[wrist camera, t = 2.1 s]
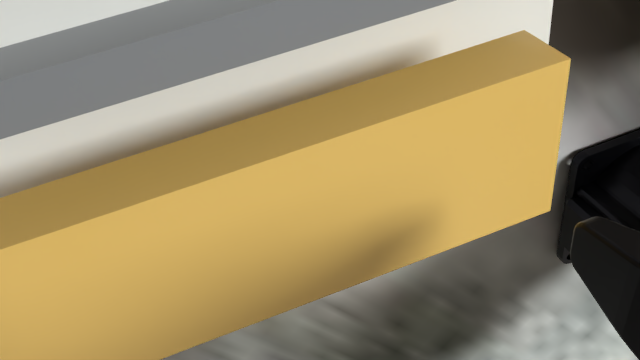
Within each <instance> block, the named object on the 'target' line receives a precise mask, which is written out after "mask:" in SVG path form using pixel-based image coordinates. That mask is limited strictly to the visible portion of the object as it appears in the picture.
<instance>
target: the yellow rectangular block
mask: <svg viewBox="0 0 640 360" xmlns="http://www.w3.org/2000/svg"><path fill="white" fill-rule="evenodd" d="M570 63H571V58H569V57H568V56H566V55H564V54H563V53H561V52H559V51H558V50H556V49H555V48H553V47H551V46H550V45H548V44H547V43H545V42H543V41H542V40H540V39H538V38H537V37H535V36H534V35H532V34H530V33H529V32H527V31H525V30H522V31H519V32H516V33H513V34H510V35H506V36H503V37H500V38H497V39H494V40H491V41H488V42H485V43H482V44H478V45H475V46H472V47H469V48H466V49H463V50H460V51H457V52H453V53H450V54H447V55H444V56H441V57H438V58H435V59H432V60H429V61H425V62H422V63H419V64H416V65H413V66H410V67H407V68H404V69H400V70H397V71H394V72H391V73H388V74H385V75H382V76H379V77H376V78H372V79H369V80H366V81H363V82H360V83H357V84H354V85H351V86H347V87H344V88H341V89H338V90H335V91H332V92H329V93H326V94H323V95H319V96H316V97H313V98H310V99H307V100H304V101H301V102H298V103H295V104H291V105H288V106H285V107H282V108H279V109H276V110H273V111H270V112H266V113H263V114H260V115H257V116H254V117H251V118H248V119H245V120H242V121H238V122H235V123H232V124H229V125H226V126H223V127H220V128H217V129H213V130H210V131H207V132H204V133H201V134H198V135H195V136H192V137H189V138H185V139H182V140H179V141H176V142H173V143H170V144H167V145H164V146H160V147H157V148H154V149H151V150H148V151H145V152H142V153H139V154H136V155H132V156H129V157H126V158H123V159H120V160H117V161H114V162H111V163H107V164H104V165H101V166H98V167H95V168H92V169H89V170H86V171H83V172H79V173H76V174H73V175H70V176H67V177H64V178H61V179H58V180H54V181H51V182H48V183H45V184H42V185H39V186H36V187H33V188H30V189H26V190H23V191H20V192H17V193H14V194H11V195H8V196H5V197H1V198H0V360H160V359H163V358H165V357H168V356H170V355H173V354H176V353H178V352H181V351H184V350H186V349H189V348H191V347H194V346H197V345H199V344H202V343H205V342H207V341H210V340H212V339H215V338H218V337H220V336H223V335H226V334H228V333H231V332H233V331H236V330H239V329H241V328H244V327H247V326H249V325H252V324H254V323H257V322H260V321H262V320H265V319H268V318H270V317H273V316H276V315H278V314H281V313H283V312H286V311H289V310H291V309H294V308H297V307H299V306H302V305H304V304H307V303H310V302H312V301H315V300H318V299H320V298H323V297H325V296H328V295H331V294H333V293H336V292H339V291H341V290H344V289H346V288H349V287H352V286H354V285H357V284H360V283H362V282H365V281H367V280H370V279H373V278H375V277H378V276H381V275H383V274H386V273H388V272H391V271H394V270H396V269H399V268H402V267H404V266H407V265H409V264H412V263H415V262H417V261H420V260H423V259H425V258H428V257H430V256H433V255H436V254H438V253H441V252H444V251H446V250H449V249H451V248H454V247H457V246H459V245H462V244H465V243H467V242H470V241H472V240H475V239H478V238H480V237H483V236H486V235H488V234H491V233H493V232H496V231H499V230H501V229H504V228H507V227H509V226H512V225H514V224H517V223H520V222H522V221H525V220H528V219H530V218H533V217H535V216H538V215H541V214H543V213H546V212H549V211H550V210H551V202H552V195H553V188H554V180H555V173H556V166H557V158H558V151H559V144H560V136H561V129H562V122H563V114H564V107H565V100H566V92H567V85H568V77H569V70H570Z"/></svg>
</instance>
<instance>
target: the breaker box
mask: <svg viewBox="0 0 640 360" xmlns="http://www.w3.org/2000/svg"><path fill="white" fill-rule="evenodd" d="M552 8H553V0H0V198H1V197H5V196H8V195H11V194H14V193H17V192H20V191H23V190H26V189H30V188H33V187H36V186H39V185H42V184H45V183H48V182H51V181H54V180H58V179H61V178H64V177H67V176H70V175H73V174H76V173H79V172H83V171H86V170H89V169H92V168H95V167H98V166H101V165H104V164H107V163H111V162H114V161H117V160H120V159H123V158H126V157H129V156H132V155H136V154H139V153H142V152H145V151H148V150H151V149H154V148H157V147H160V146H164V145H167V144H170V143H173V142H176V141H179V140H182V139H185V138H189V137H192V136H195V135H198V134H201V133H204V132H207V131H210V130H213V129H217V128H220V127H223V126H226V125H229V124H232V123H235V122H238V121H242V120H245V119H248V118H251V117H254V116H257V115H260V114H263V113H266V112H270V111H273V110H276V109H279V108H282V107H285V106H288V105H291V104H295V103H298V102H301V101H304V100H307V99H310V98H313V97H316V96H319V95H323V94H326V93H329V92H332V91H335V90H338V89H341V88H344V87H347V86H351V85H354V84H357V83H360V82H363V81H366V80H369V79H372V78H376V77H379V76H382V75H385V74H388V73H391V72H394V71H397V70H400V69H404V68H407V67H410V66H413V65H416V64H419V63H422V62H425V61H429V60H432V59H435V58H438V57H441V56H444V55H447V54H450V53H453V52H457V51H460V50H463V49H466V48H469V47H472V46H475V45H478V44H482V43H485V42H488V41H491V40H494V39H497V38H500V37H503V36H506V35H510V34H513V33H516V32H519V31H522V30H525V31H527V32H529V33H530V34H532V35H534V36H535V37H537V38H538V39H540V40H542V41H543V42H545V43H547V44H548V45H549V36H550V27H551V17H552Z"/></svg>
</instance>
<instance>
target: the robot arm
mask: <svg viewBox="0 0 640 360" xmlns="http://www.w3.org/2000/svg"><path fill="white" fill-rule="evenodd" d="M557 257H558V258H559V259H560V260H561V261H562V262H563V263H565V264H568V263H571V262H572V265H573V267H574V268H575V270H576V271H577V273H578V274H579V276H580V277H581V279H582V280H583V282H584V283H585V285H586V286H587V288H588V289H589V291H590V292H591V294H592V295H593V297H594V298H595V300H596V301H597V303H598V304H599V306H600V307H601V309H602V310H603V312H604V313H605V315H606V316H607V318H608V319H609V321H610V322H611V324H612V325H613V327H614V328H615V330H616V331H617V333H618V334H619V335H620V337H621V338H622V339H623V341H624V342H625V343H626V345H627V346H628V347H629V348H630V350H631V351H632V352H633V353H634V354H635V356H636V357H637V358H638V359H639V360H640V130H638V131H635V132H632V133H629V134H627V135H624V136H621V137H618V138H616V139H613V140H610V141H608V142H605V143H602V144H599V145H597V146H594V147H591V148H588V149H586V150H583V151H581V152H579V153H578V154H577V155H576V156H575V157H574V158H573V160H572V162H571V166H570V173H569V179H568V186H567V192H566V198H565V205H564V211H563V218H562V224H561V230H560V237H559V243H558V250H557Z"/></svg>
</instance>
